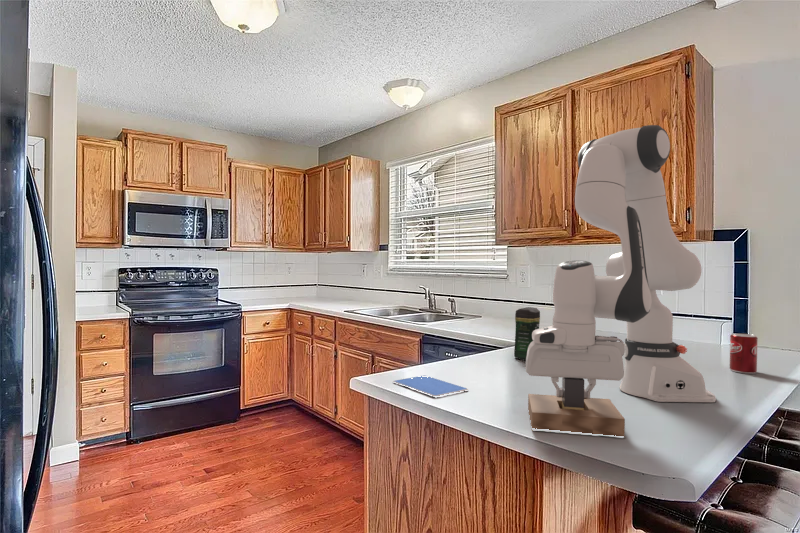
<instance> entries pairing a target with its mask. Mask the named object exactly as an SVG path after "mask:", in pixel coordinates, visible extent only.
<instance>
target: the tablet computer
mask: <svg viewBox="0 0 800 533" xmlns="http://www.w3.org/2000/svg"><path fill="white" fill-rule="evenodd" d="M420 376H421V377H418V376H414V377H413V376H412V377H407V378H403V379H402V378H401V379H396V380H393V381H392V383H393V382H396V383H398V384H402V385H405V386H408V387H411V388H414V389H416V390H418V391H422V392H424V393H427V394H430V395H432V396H440V395H444V394H449V393H454V392H460V391H465V390H468V391H469V388H467V387H463V386H461V385H457V384H454V383H451V382H448V381H444V380H441V379H437V378H435V377H432V376H429V377H428V378H427V377H422V376H423V375H420ZM431 377H432V378H431ZM411 378H413V379H411ZM421 378H422V379H421Z"/></svg>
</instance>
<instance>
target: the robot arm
mask: <svg viewBox="0 0 800 533" xmlns="http://www.w3.org/2000/svg"><path fill="white" fill-rule="evenodd" d="M670 153H671V141H670V137H669V135H668V132H667V131H666V130H665V129H664V127H662V126H661V125H658V124H647V125H642V126H641V127H636V128H635V127H633V128H629V129H623V130H619V131H616V132H614V133H611V134H609V135H605V136H603V137H600V138H598V139H597V138H594V139H592V140H589V141H587V142H586V143H584V144H583V145H582V147H581V148H580V150H579V151H578V153H577V164H578V165H577V166H578V168H579V169H578V174H577V180H576V184H575V193H574V208H575V211H576V214H578V216H579V217H580V218H581V220H583V221H584V222H586V223H587V224H589V225H591V226H594V227H596V228H598V229H602V230H604V231H608V232H610V233H612V234H615V235H616V236H618V237H619V239H620V245H621V251H619V252H616V253H615V252H614V253H613V254H612V255H611V256H610V257H609V258H608V259H607V261H606V265H605V272H606V275H596V274H595V269H594V265H593V263H592V262H590V261H588V260H569V261H562V262H561V263H559V264H557V266H556V269H555V274H554V280H553V292H552V302H553V303H552V304H553V305H554V313H553V314H554V315H553V317H552V325H548V326H545V327H541V328H540V327H539V329H536V330H534V331H533V332H532V339H533V341H532V342H531V343H530V345H529V347H528V351H527V356H526V360H525V372H526V373H527V374H528V375H529V376H531V377H546V378H547V377H548V378H550V381H551V383H552V384H553V386H554V387H555V396H557V397H562V398H564V389H563V388H562V387H559V385H558V383H559V380H560V378H562V377H563V378H581V379H584V380H585V379H586V380H587V383H588V385H587V386H586V388H584V399H590V398H591V393H592V391H593V389H594V388H595V386H596V385H597V381H598V380H602V381H619V382H620V381H621V382H620V385H619V391H622V392H623V393H626V394H629V395H632V396H636V397H640V398H645V399H647V400H650V401H655V402H658V403H660V402H661V403H662V402H663V403H715V402H716V401H717V399H716V396H715V394H714V393H712V391H709V390H708V389H707V388H706V382H705V379H704V376H703V375H702V373H701V372H700V371H699V370H698V369H697V368H695V367H694V366H692V364H690V363H689V362H687V360H685V359H684V358H682V357H681V356H680V355H681V354H683V355H685V354H686V353H687V352H688V348H687V347H686V346H684V345H682V344H678V343H676V342H674V341H673V326H674V324H673V323H674V322H673V321H674V320H673V318H674V316H673V313H672V311H671V310H670V308H669V307H667V306H665V305H664V304H663V303H662V302H661V300H660V299H659V297H658V295H657V291H665V292H675V291H682V290H689V289H692V288H694V287H695V286H696V285H697V283H698V282H699V281H700V279H701V276H702V264H701V261H700V260H699V258H698V256H697V255H696V253H693V252H692V251H690V250H688V249H687V248H686V246H684V245H683V243H681V242H680V240H679V238H678V237H677V236H676V234H675V232H674V230H673V228H672V224H671V222H670V216H669V211H668V203H667V196H666V188H665V182H664V178H663V177H664V176H663V174H662V170H661V168H662V166H664V165H665V164H666V162H667V160H668V159H669V157H670ZM596 318H599V319H608V320H609V319H610V320H617V321H622V322H625V323H626V338H625V339H624V341H623V340H622V339H620V338H618V337H617V336H613V335H612V336H604V335H596V325H597V324H596ZM623 356H624V359H625V360H624V359H623ZM624 361H625V362H624Z"/></svg>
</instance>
